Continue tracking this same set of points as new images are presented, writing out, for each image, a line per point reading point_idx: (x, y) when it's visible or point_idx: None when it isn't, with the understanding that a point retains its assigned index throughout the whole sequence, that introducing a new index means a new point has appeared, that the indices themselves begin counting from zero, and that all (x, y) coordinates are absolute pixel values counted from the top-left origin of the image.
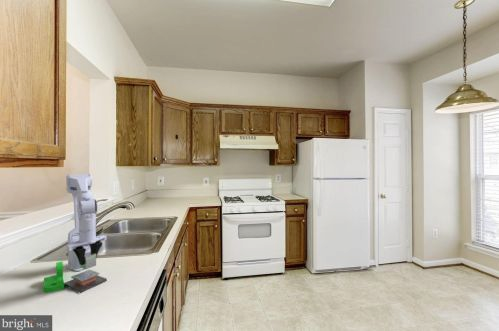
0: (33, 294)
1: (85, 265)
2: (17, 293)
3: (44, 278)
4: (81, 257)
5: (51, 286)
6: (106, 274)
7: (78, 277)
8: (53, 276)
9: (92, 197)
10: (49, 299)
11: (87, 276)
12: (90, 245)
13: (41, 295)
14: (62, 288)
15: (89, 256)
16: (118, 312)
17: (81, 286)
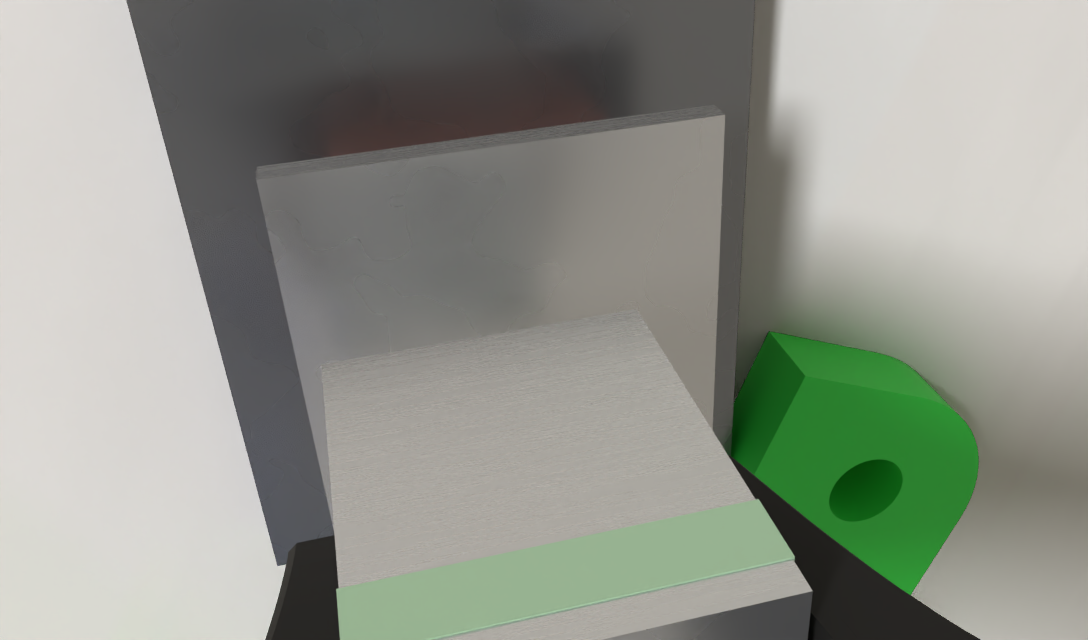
0: (1015, 473)
1: (675, 395)
2: (1047, 620)
3: None
4: (949, 622)
5: (922, 446)
6: (8, 318)
7: (665, 327)
8: None
9: None
10: (1053, 147)
11: (537, 219)
12: None
13: (1004, 369)
14: (793, 344)
15: (652, 598)
16: None
17: (658, 84)
